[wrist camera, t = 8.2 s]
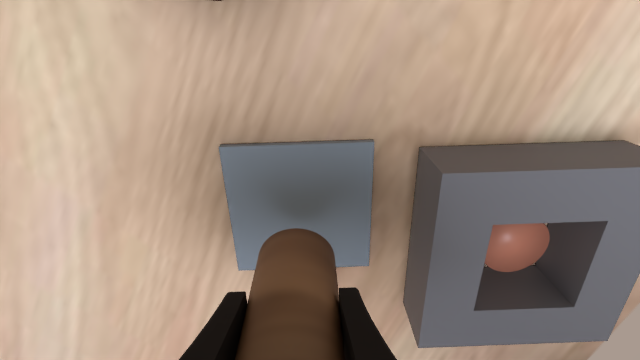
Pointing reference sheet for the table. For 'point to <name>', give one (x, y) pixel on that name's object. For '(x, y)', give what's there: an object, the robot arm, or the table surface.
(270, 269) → the dowel
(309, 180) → the mat
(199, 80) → the table surface
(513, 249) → the orange domed disc
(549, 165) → the frame
